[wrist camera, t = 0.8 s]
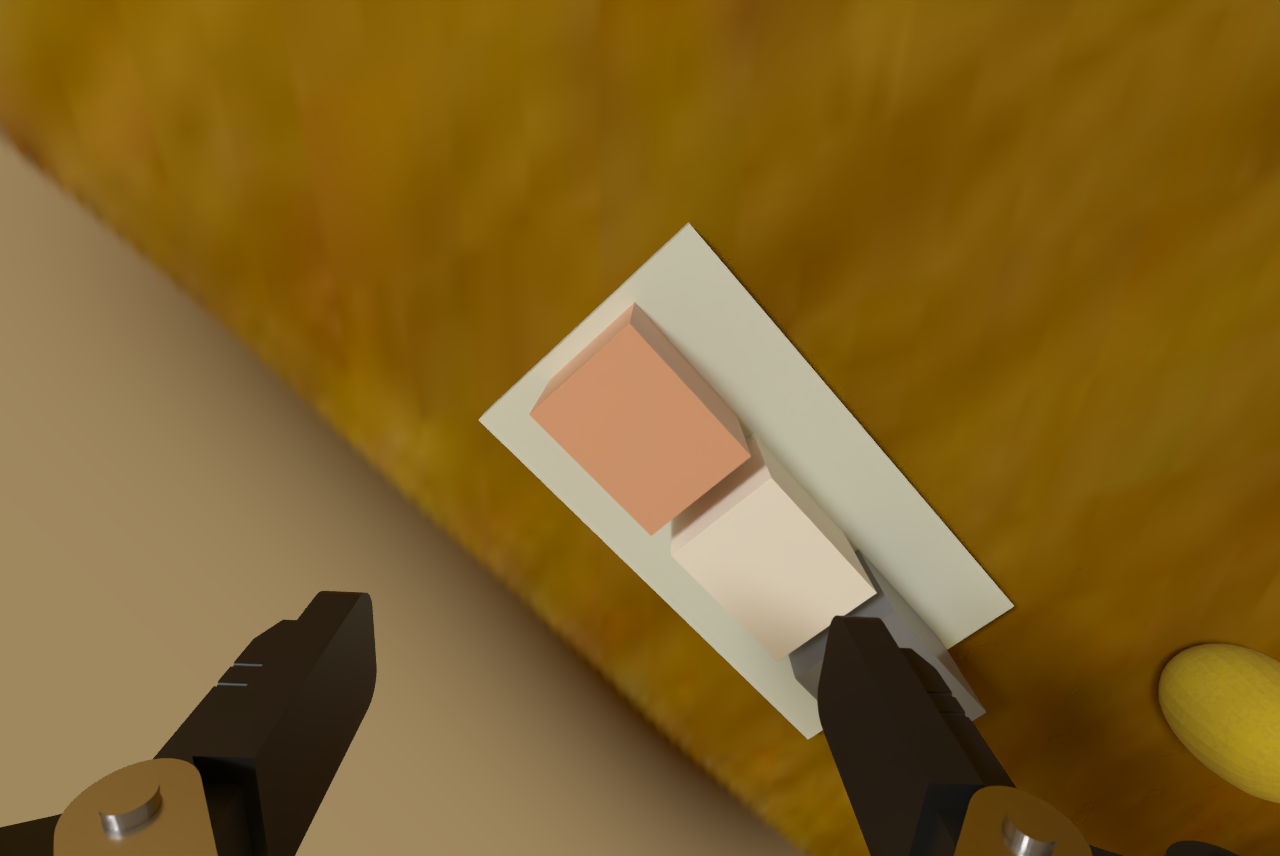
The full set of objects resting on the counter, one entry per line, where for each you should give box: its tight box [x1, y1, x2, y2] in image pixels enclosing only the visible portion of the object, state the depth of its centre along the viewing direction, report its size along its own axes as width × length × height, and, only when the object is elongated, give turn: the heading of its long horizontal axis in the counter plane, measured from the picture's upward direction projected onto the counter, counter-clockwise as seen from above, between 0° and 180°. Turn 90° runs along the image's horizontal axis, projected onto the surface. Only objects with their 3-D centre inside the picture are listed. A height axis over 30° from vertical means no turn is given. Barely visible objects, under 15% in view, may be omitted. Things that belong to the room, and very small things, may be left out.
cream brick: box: [670, 433, 877, 661], centre depth 27 cm, size 6×5×5 cm
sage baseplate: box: [479, 223, 1014, 739], centre depth 30 cm, size 23×12×1 cm, turn 42°
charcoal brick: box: [788, 549, 987, 721], centre depth 29 cm, size 6×5×5 cm
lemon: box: [1158, 643, 1280, 803], centre depth 29 cm, size 6×6×8 cm
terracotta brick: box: [529, 302, 751, 536], centre depth 26 cm, size 6×5×5 cm
